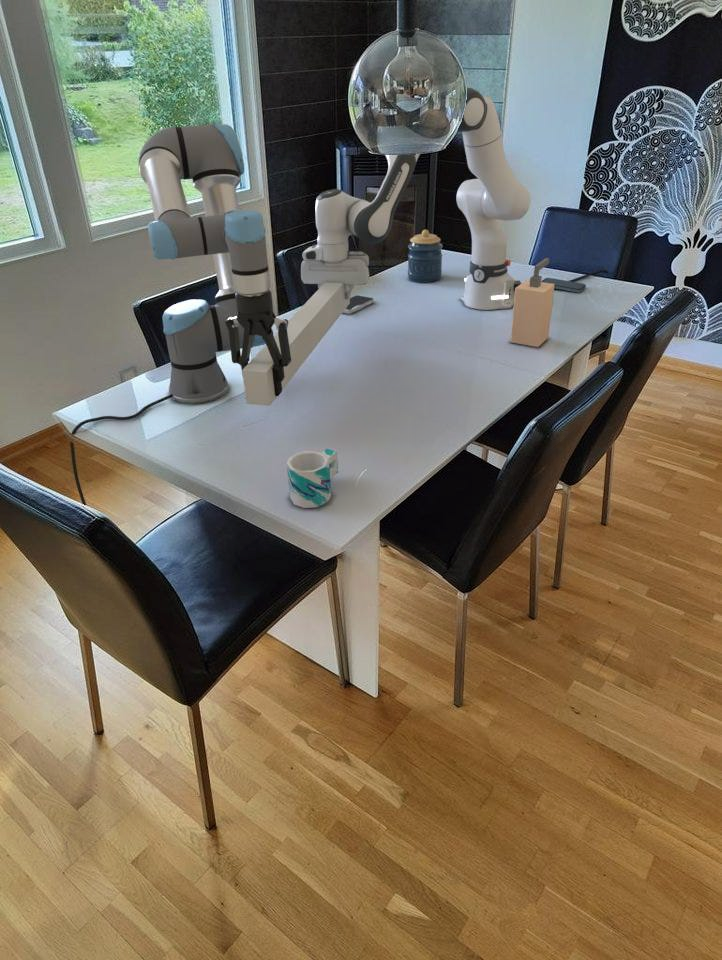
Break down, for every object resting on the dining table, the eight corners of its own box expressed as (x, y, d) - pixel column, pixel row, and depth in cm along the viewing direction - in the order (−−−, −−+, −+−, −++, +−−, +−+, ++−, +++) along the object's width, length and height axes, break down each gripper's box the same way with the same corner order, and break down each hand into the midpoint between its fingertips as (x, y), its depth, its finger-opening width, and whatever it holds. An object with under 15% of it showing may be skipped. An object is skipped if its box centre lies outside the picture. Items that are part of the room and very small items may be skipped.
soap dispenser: (538, 347, 195) (546, 271, 183) (510, 342, 199) (517, 267, 187) (552, 333, 204) (562, 259, 192) (525, 328, 208) (533, 256, 196)
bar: (270, 405, 148) (266, 372, 143) (246, 403, 149) (241, 370, 144) (349, 302, 205) (348, 276, 201) (332, 302, 207) (330, 276, 202)
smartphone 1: (374, 298, 234) (349, 310, 224) (374, 302, 235) (349, 314, 224) (356, 295, 238) (331, 307, 227) (356, 298, 238) (331, 310, 228)
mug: (282, 500, 133) (278, 464, 129) (317, 472, 142) (314, 437, 137) (316, 512, 129) (313, 475, 125) (350, 482, 138) (348, 447, 133)
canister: (414, 284, 250) (415, 235, 241) (403, 275, 261) (403, 227, 251) (446, 280, 253) (448, 231, 243) (434, 271, 264) (435, 224, 254)
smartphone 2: (580, 289, 234) (539, 282, 241) (579, 294, 235) (538, 286, 242) (587, 283, 240) (546, 276, 246) (586, 288, 240) (545, 281, 247)
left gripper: (301, 287, 140) (309, 388, 153) (218, 284, 144) (233, 382, 157) (290, 298, 134) (299, 402, 147) (203, 295, 138) (220, 396, 151)
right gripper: (370, 248, 194) (372, 295, 201) (303, 247, 198) (307, 294, 205) (366, 254, 188) (368, 302, 196) (296, 253, 193) (301, 300, 200)
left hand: (265, 392), depth 152 cm, fingers closed on bar, 6 cm apart
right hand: (336, 298), depth 201 cm, fingers closed on bar, 5 cm apart
